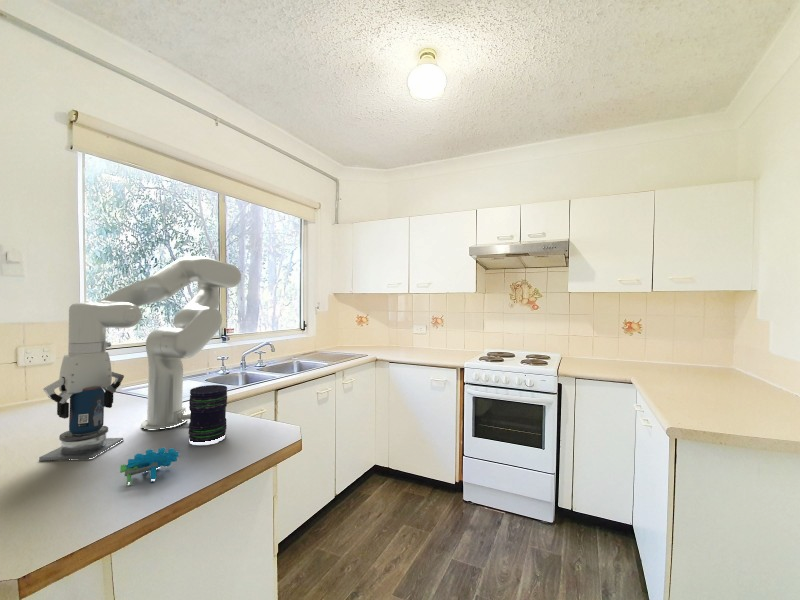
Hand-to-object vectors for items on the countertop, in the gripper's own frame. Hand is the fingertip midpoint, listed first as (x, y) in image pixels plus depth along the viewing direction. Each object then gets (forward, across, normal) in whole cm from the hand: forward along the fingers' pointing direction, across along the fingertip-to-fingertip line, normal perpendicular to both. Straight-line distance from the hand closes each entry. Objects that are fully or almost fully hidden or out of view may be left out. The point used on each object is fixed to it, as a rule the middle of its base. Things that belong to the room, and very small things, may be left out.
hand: (86, 412), depth 95 cm
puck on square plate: (+10, 0, 0) cm, 10 cm away
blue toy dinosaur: (+10, +2, +30) cm, 32 cm away
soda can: (+5, 0, 0) cm, 5 cm away
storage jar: (+11, -19, +22) cm, 31 cm away
